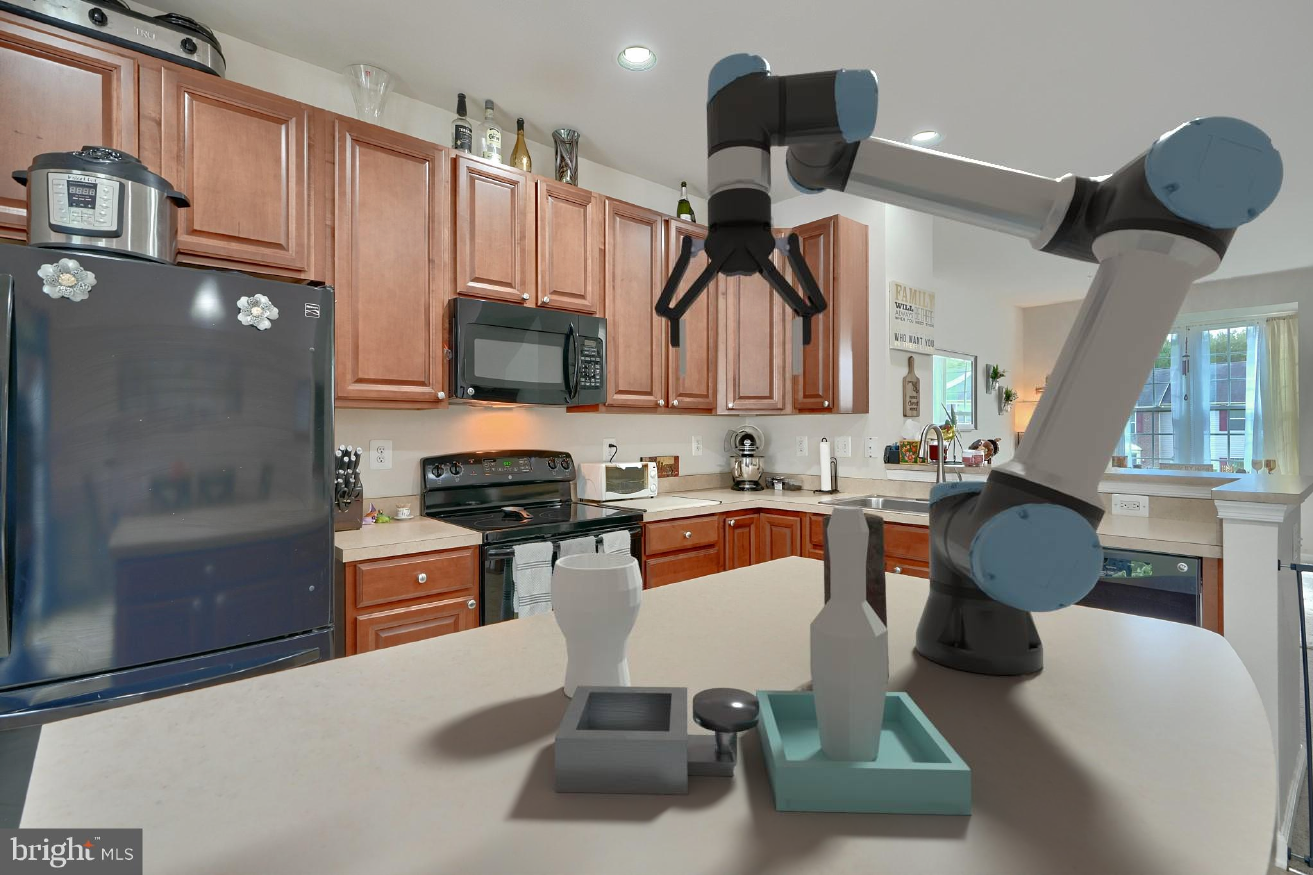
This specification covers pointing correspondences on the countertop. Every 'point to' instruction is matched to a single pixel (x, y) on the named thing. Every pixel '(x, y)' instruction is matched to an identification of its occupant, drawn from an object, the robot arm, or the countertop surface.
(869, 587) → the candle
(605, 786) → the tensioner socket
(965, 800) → the tray
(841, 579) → the grey faceted bottle
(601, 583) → the cup
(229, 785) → the countertop surface
